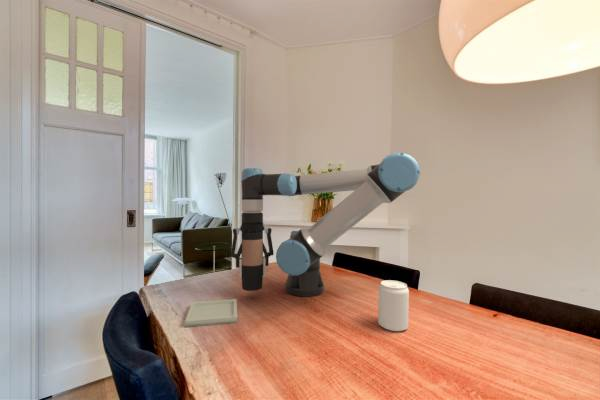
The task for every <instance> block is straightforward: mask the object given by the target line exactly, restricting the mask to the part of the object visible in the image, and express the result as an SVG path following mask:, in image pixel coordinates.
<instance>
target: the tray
mask: <svg viewBox="0 0 600 400" xmlns="http://www.w3.org/2000/svg"><path fill="white" fill-rule="evenodd" d="M237 300H238V299H237V298H232V299H217V300H205V301H192V302H191V305H190V307H189V309H188V312H187V314H186V316H185V317H186V318H185V320H184V328H192V327H193V328H194V327H202V326H203V327H204V326H215V325H225V324H236V323H238V304H237V303H238V301H237Z"/></svg>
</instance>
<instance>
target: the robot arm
mask: <svg viewBox="0 0 600 400" xmlns="http://www.w3.org/2000/svg"><path fill="white" fill-rule="evenodd" d="M420 174H421V169H420V166H419V163H418V162H417V160H416V159H415V158H414V157H413V156H412V155H410V154H408V153H404V152H394V153H391V154H388V155H386V156H385V157H384V158H383V159H382V161H381V162H380V163H378V164H373V165H369V166H368V167H367V168H363V169H361V168H360V169H352V170H342V171H341V170H340V171H334V172H333V171H332V172H322V173H313V174H302V175H295V174H293V173H284V172H283V173H264V170H263V169H262V168H256V167H255V168H253V167H252V168H251V167H249V168H244V169H242V171H241V181H240V182H241V211H242V213H241V225H240V227H238V228H233V229H232V233H233V234H232V235H233V239H232V243H231V244H232V245H231V249H230V250H231V251H230V257H231V258H233V259H235V268H236V269H238V271H239V272H238V276H239V279H242V258H241V253H242V241H240V242H241V243H240V244H239V248H238V249H237V252H236V246H237V241H238V235H240V232H241V233H242V232H243V233H259V232H263V233H265V234H266V239H267V245H268V250H267V247H266V246H265V243H264V242H263V277H266V274H267V272H266V267H268V266H269V263H270V262H269V258H270V257H271V256H274V254H275V253H274V248H273V247H274V246H273V241H272V230H273V229H272V228H271V227H265V226H264V213H263V211H264V196H283V197H284V196H285V197H286V196H287V197H295V196H301V195H303V196H304V195H314V194H325V193H326V194H327V193H337V192H339V193H340V192H349V191H352V192H351V193H350V194H349V195H348V196H347V197H345V198H344V199H343V200H342V201H340V202H339V203H338V204H337V205H336V206H334V207H333V208H332V209H331V210H330V211H328V212H327V213H326V214H325V215H323V216H321V218H320V219H318V220H317V221H316V222H315V223H313V224H312V225H311V226H310V227H302V228H301V229H299V230H292V231H291V232H290V235H289V238H288V239H287V240H285V241H282V242H281V243H280V245H279V246H278V247H277V249H276V254H275V259H276V264H277V265H278V267H279V269H280V270H281V271H282V272H283V273H284V274H287V278H286V280H285V281H286V282H285V285H284V286H285V287H284V289H285V290H284V291H285V293H288V294H289V295H292V296H297V297H314V296H319V295H321V294H324V290H325V284H324V280H323V277H322V274H321V270H320V268H321V258H322V257H324V256H325V253H326V252H325V250H326V248H328V247H329V246H330V245H331V244H333V243H334V242H335V241H337V240H338V239H339V238H340V237H342V236H343V235H344V234H345V233H347V232H348V231H349V230H351V229H352V228H353V227H354V226H356V225H357V224H358V223H360V222H361V221H362V220H363V219H364V218H365V217H367V216H368V215H369V214H370V213H372V212H373V211H374V210H376V209H377V208H378V207H380V206H381V205H383V204H392V202H394V201H395V200H396V199H398V198H399V197H400V196H401V195H403V194H404V193H405V192H407V191H409V190H412V189H413V188H414V187H415V186H416V184H417V183H418V181H419V179H420V176H421V175H420ZM235 252H236V253H235Z"/></svg>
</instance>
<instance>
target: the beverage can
mask: <svg viewBox="0 0 600 400" xmlns="http://www.w3.org/2000/svg"><path fill="white" fill-rule="evenodd" d="M409 299H410V290H409V288H408V284H407V283H406V282H402V281H399V280H391V279H388V280H387V279H386V280H382V281H380V284H379V286H378V306H377V307H378V310H377V311H378V312H377V313H378V315H377V323H378V324H379V326H380V327H382V328H384V329H386V330H388V331H391V332H402V331H405V330H407V329H408V328H409V304H410V300H409Z"/></svg>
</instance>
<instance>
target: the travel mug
mask: <svg viewBox="0 0 600 400" xmlns="http://www.w3.org/2000/svg"><path fill="white" fill-rule="evenodd" d="M263 234H264V231H263V232H259V233H243V232H241V242H242V253H241V255H240V258H242V278H241V288H242V290H244V291H247V292H255V291H260V290H261V289H262V288H263V283H264V281H263V278H264V276H263V256H264V252H263V243H264V235H263Z"/></svg>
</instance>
